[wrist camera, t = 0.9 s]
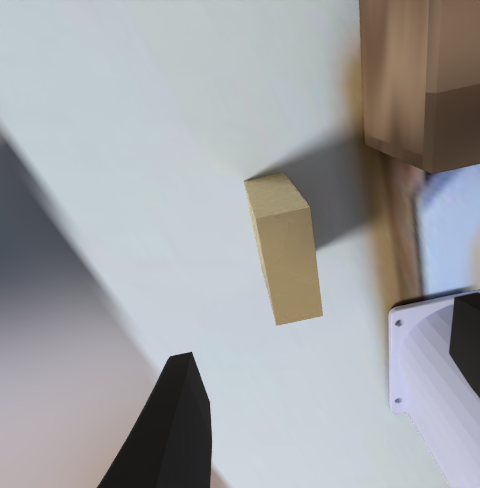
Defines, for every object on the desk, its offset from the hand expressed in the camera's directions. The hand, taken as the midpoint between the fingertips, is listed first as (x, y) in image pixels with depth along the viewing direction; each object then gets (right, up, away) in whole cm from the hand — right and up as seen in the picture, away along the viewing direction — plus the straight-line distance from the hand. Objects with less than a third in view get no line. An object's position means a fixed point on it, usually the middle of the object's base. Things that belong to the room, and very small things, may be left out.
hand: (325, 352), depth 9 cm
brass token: (-1, +4, +8) cm, 9 cm away
